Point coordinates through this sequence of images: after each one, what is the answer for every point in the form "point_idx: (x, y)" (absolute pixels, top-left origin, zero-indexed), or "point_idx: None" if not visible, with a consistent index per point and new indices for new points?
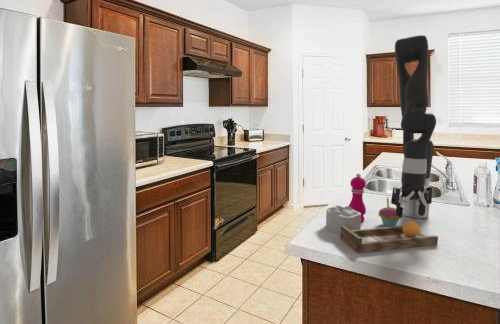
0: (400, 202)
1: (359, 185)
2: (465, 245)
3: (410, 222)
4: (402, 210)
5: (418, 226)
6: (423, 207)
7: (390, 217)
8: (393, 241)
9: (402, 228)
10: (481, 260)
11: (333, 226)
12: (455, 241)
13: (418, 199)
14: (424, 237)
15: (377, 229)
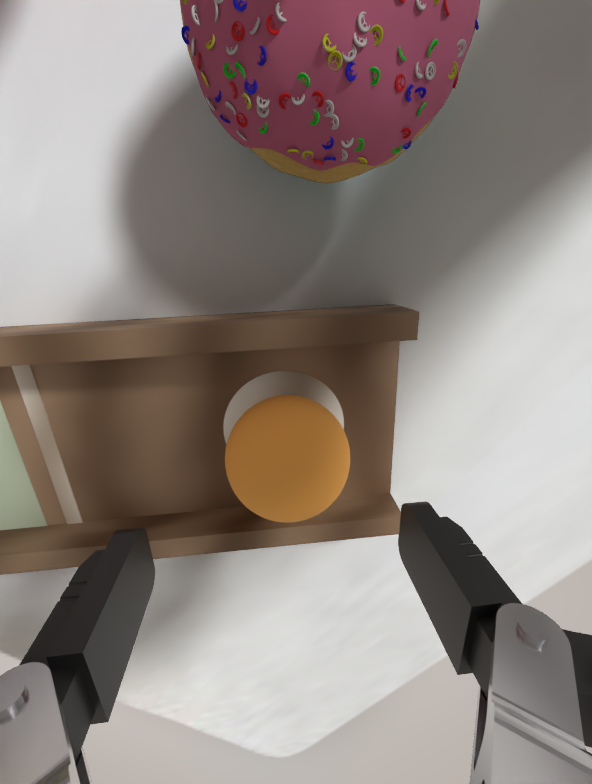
0: (60, 745)
1: None
2: (511, 516)
3: (275, 502)
4: (118, 666)
5: (326, 508)
6: (453, 652)
7: (263, 153)
8: (78, 564)
9: (229, 435)
10: (430, 631)
11: None
12: (513, 471)
13: (479, 774)
14: (308, 538)
15: (36, 362)
